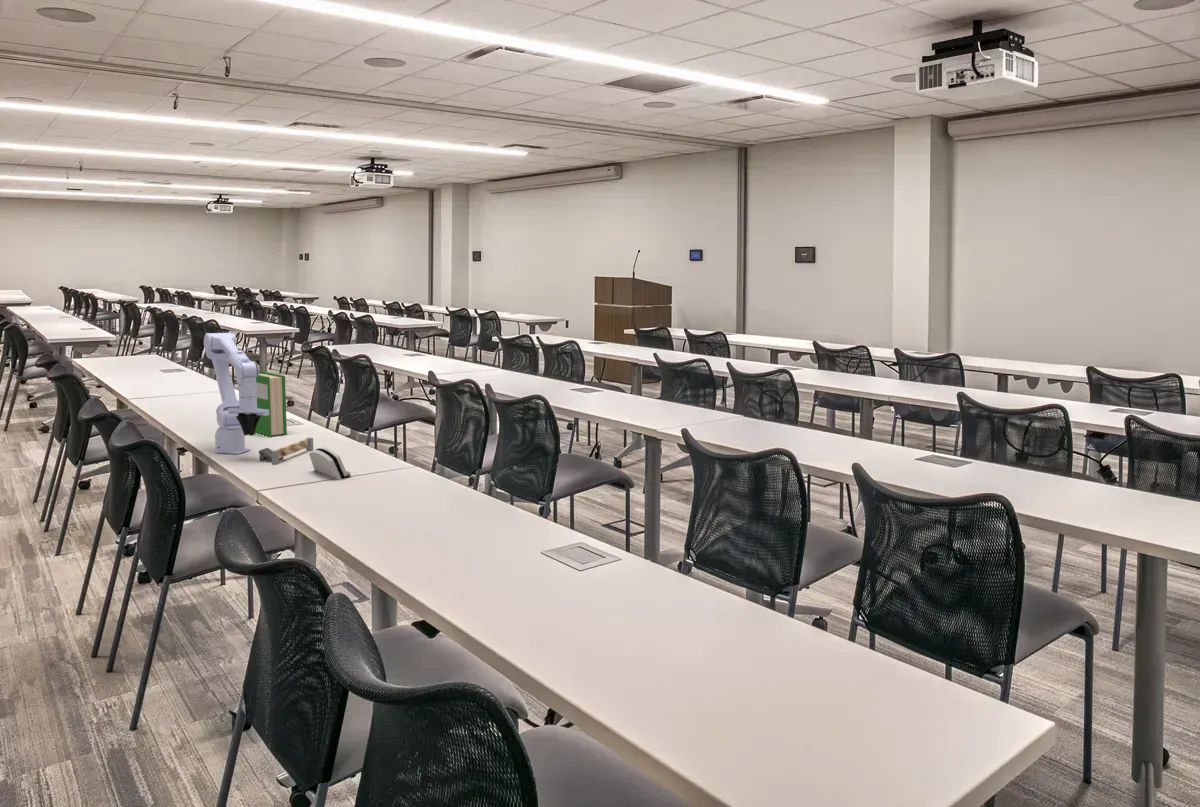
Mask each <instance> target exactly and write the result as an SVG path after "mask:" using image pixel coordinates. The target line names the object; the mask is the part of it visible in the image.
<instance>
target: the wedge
mask: <svg viewBox="0 0 1200 807" xmlns="http://www.w3.org/2000/svg"><path fill="white" fill-rule="evenodd" d="M272 451H273V450H272V449H270V448H269V447H265V448H262V449H259V451H258V454H259V462H260V461H266V462H265V463H272ZM282 459H283V460H284V457H282V458H279V462H281V461H283V460H282ZM280 460H281V461H280ZM268 461H269V462H268Z"/></svg>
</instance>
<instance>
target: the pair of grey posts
mask: <svg viewBox="0 0 1200 807" xmlns="http://www.w3.org/2000/svg"><path fill="white" fill-rule="evenodd" d="M305 439H308V448H305V450H311V451H313V450H314V438H313V437H307V438H305ZM276 450H277V449H275V450H272V462H271V464H272V465H278V463H280V461H279V452H278V451H276Z"/></svg>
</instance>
